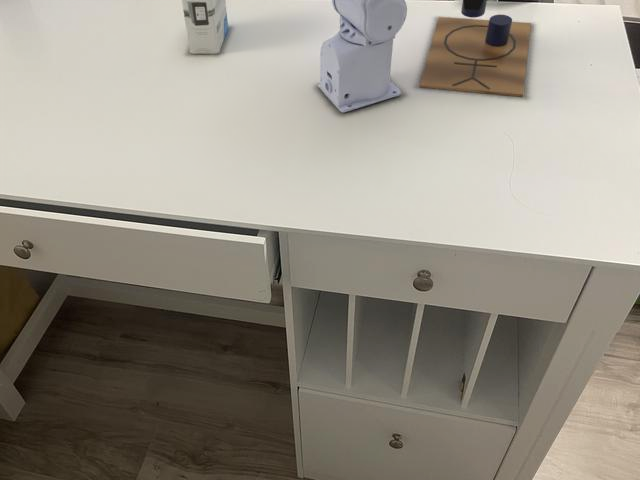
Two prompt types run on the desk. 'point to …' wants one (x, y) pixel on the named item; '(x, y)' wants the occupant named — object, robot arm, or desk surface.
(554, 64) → the desk surface
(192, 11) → the ink box
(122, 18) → the desk surface
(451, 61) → the sheet
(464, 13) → the dot
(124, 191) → the desk surface
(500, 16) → the dot
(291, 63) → the desk surface
